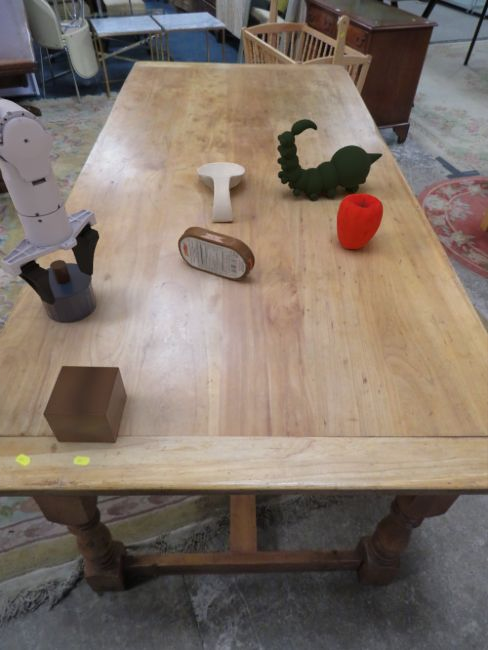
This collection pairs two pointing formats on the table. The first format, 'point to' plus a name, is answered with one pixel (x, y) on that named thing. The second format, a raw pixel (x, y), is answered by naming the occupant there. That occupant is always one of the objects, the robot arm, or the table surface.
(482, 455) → the table surface
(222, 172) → the spoon rest
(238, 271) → the tin
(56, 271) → the tin lid
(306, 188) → the toy figurine
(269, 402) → the table surface
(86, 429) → the riser
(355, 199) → the apple
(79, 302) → the grey short cylinder
